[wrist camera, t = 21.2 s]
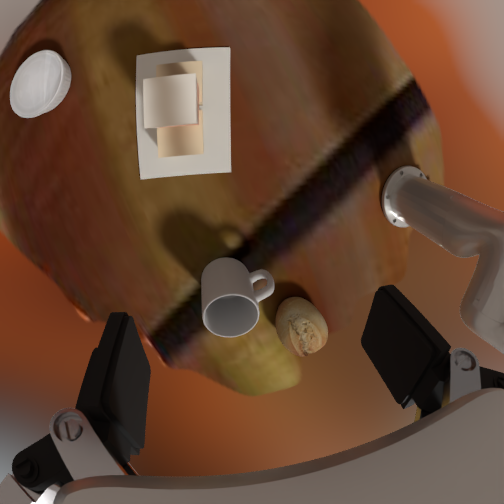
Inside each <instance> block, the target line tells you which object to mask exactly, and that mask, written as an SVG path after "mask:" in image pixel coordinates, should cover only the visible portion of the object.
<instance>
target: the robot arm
mask: <svg viewBox="0 0 504 504" xmlns="http://www.w3.org/2000/svg"><path fill="white" fill-rule="evenodd" d="M382 209H383V213H384V215H385V217H386V218H387V220H388V221H389V222H390V223H392V224H393V225H395V226H397V227H407V226H411V227H413V228H414V229H416V230H417V231H419V232H420V233H422V234H424V235H425V236H426V237H428V238H429V239H431V240H432V241H434V242H436V243H437V244H438V245H440V246H441V247H443V248H444V249H446V250H447V251H449V252H450V253H451V254H453V255H455V256H458V257H463V258H464V257H472V256H475V255H479V259H478V262H477V266H476V268H475V271H474V273H473V276H472V278H471V281H470V283H469V285H468V287H467V290H466V292H465V294H464V296H463V299H462V302H461V305H460V315H461V318H462V320H463V322H464V323H465V325H466V326H467V327H468V328H469V329H470V330H471V331H473V332H474V333H475V334H476V335H478V336H479V337H481V338H482V339H483V340H485V341H486V342H488V343H489V344H491V345H492V346H493V347H495V348H496V349H498V350H499V351H500V352H502V353H503V354H504V212H503V211H500V210H497V209H494V208H492V207H489V206H487V205H485V204H483V203H480V202H478V201H475V200H473V199H471V198H469V197H467V196H465V195H463V194H460V193H458V192H456V191H453V190H451V189H449V188H446V187H444V186H441V185H439V184H436V183H434V182H431V181H429V180H427V179H426V177H425V175H424V174H423V172H422V171H421V170H419V169H418V168H416V167H413V166H402V167H400V168H398V169H396V170H395V171H394V172H393V173H392V174H391V175H390V176H389V178H388V179H387V181H386V183H385V185H384V189H383V192H382ZM361 344H362V347H363V348H364V350H365V352H366V353H367V355H368V356H369V358H370V360H371V361H372V363H373V364H374V366H375V368H376V369H377V370H378V372H379V374H380V375H381V377H382V379H383V381H384V382H385V384H386V385H387V387H388V389H389V390H390V392H391V394H392V395H393V397H394V399H395V400H396V402H397V403H398V404H401V406H402V408H403V409H405V408H407V407H410V406H411V405H413V404H414V403H416V405H417V410H416V416H415V421H414V423H412V424H410V425H408V426H406V427H404V428H401V429H399V430H397V431H395V432H392V433H390V434H388V435H385V436H383V437H381V438H378V439H376V440H373V441H371V442H368V443H365V444H363V445H360V446H357V447H354V448H351V449H348V450H346V451H342V452H339V453H336V454H333V455H330V456H326V457H323V458H319V459H315V460H311V461H307V462H303V463H298V464H294V465H289V466H285V467H279V468H274V469H268V470H263V471H256V472H248V473H239V474H230V475H218V476H217V475H216V476H195V477H160V476H139V475H138V474H137V472H136V471H135V470H134V469H133V468H132V466H131V465H130V464H129V463H128V462H129V461H130V454H132V455H139V451H140V448H144V441H145V426H146V411H147V401H148V392H149V383H150V374H151V372H150V371H151V370H150V365H149V362H148V359H147V357H146V354H145V352H144V349H143V346H142V343H141V340H140V338H139V335H138V332H137V329H136V326H135V323H134V320H133V317H132V316H128V314H127V313H126V312H112V313H111V314H110V316H109V318H108V321H107V324H106V326H105V329H104V332H103V335H102V337H101V340H100V343H99V346H98V348H95V349H94V350H93V352H92V355H91V358H90V361H89V364H88V367H87V370H86V373H85V376H84V379H83V383H82V386H81V390H80V393H79V397H78V400H77V404H76V408H75V409H74V408H64V409H62V410H59V411H58V412H57V413H56V414H55V415H54V416H53V417H52V419H51V422H50V428H49V430H50V434H48V435H47V436H45V437H44V438H42V439H40V440H39V441H37V442H36V443H34V444H32V445H31V446H29V447H28V448H26V449H24V450H23V451H21V452H19V453H18V454H17V455H16V456H15V458H14V460H13V463H12V471H13V474H12V475H10V474H8V475H7V476H6V477H5V479H4V480H3V481H2V482H1V484H0V504H504V373H501V372H498V371H494V370H491V369H487V368H483V367H480V366H479V362H478V359H477V358H476V356H475V355H474V354H473V353H472V352H471V351H469V350H467V349H465V348H457V349H455V350H453V351H452V353H451V354H450V353H449V350H450V348H451V346H450V345H449V344H448V343H447V341H446V340H445V339H444V338H443V337H442V336H441V335H440V333H439V332H438V331H437V330H436V329H435V328H434V327H433V326H432V325H431V324H430V323H429V321H428V320H427V319H426V318H425V317H424V316H423V315H422V314H421V313H420V312H419V311H418V310H417V308H416V307H415V306H414V305H413V304H412V303H411V302H410V301H409V300H408V299H407V298H406V297H405V296H404V295H403V294H402V293H401V292H400V291H399V290H398V289H397V288H396V287H395V286H394V285H387V286H381V287H380V288H379V289H378V291H376V293H375V296H374V299H373V303H372V306H371V310H370V313H369V316H368V319H367V323H366V326H365V329H364V332H363V335H362V338H361Z"/></svg>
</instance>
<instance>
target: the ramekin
mask: <svg viewBox="0 0 504 504" xmlns="http://www.w3.org/2000/svg"><path fill="white" fill-rule="evenodd" d="M70 83H71V71H70V67H69V65H68V64H67V62H66V61H65V60H64V59H63V58H62V57H61V56H60V55H59V54H58V53H57V52H55V51H51V50H43V51H39V52H37V53H35V54H33V55H31V56H30V57H29V58H28V59H26V60H25V61H24V63H23V64H22V65H21V66H20V67H19V69H18V71H17V72H16V74H15V76H14V78H13V81H12V84H11V89H10V103H11V106H12V109H13V110H14V112H15V113H16V114H17V115H19V116H21V117H24V118H32V117H36V116H39V115H41V114H43V113H46V112H49V111H50V110H52V109H54V108H55V107H56V106H58V104H59V103H60V102H61V101H62V100H63V98H64V97H65V95H66V94H67V92H68V89H69V87H70Z"/></svg>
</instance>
